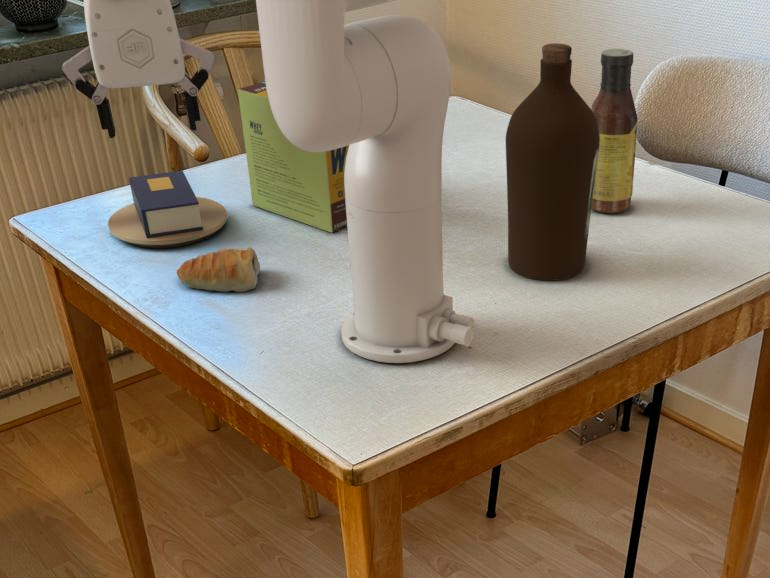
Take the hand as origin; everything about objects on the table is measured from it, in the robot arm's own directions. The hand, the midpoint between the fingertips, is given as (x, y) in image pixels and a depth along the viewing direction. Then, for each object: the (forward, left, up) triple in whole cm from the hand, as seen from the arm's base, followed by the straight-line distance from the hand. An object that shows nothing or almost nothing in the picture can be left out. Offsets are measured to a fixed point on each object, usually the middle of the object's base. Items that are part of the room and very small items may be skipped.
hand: (153, 131), depth 123 cm
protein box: (-13, -15, -13) cm, 23 cm away
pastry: (-17, +9, -13) cm, 23 cm away
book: (0, 0, -13) cm, 13 cm away
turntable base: (0, 0, -13) cm, 13 cm away
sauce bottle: (-47, -35, -13) cm, 60 cm away
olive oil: (-48, -14, -13) cm, 51 cm away
